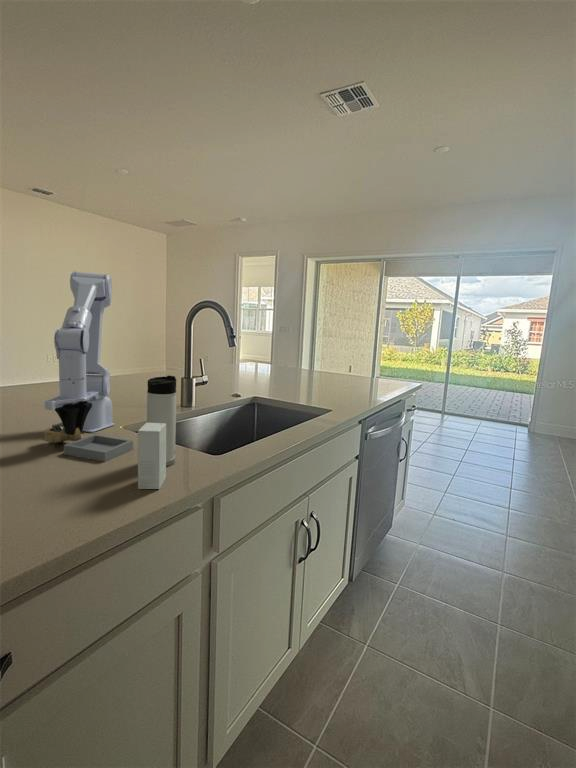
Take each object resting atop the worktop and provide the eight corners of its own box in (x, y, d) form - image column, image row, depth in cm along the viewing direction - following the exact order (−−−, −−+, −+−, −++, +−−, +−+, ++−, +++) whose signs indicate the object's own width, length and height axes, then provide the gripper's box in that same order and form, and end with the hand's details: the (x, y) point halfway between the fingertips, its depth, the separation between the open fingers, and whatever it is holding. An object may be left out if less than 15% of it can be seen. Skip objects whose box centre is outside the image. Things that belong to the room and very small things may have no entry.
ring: (60, 434, 102) (59, 423, 102) (88, 436, 100) (87, 425, 100) (39, 441, 96) (37, 429, 96) (67, 443, 94) (66, 431, 93)
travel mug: (181, 460, 93) (183, 377, 90) (161, 469, 87) (163, 380, 84) (161, 455, 96) (162, 374, 92) (140, 463, 90) (141, 376, 86)
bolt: (61, 442, 100) (61, 422, 100) (67, 443, 100) (67, 422, 99) (51, 445, 97) (50, 424, 96) (57, 446, 97) (56, 425, 96)
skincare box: (145, 477, 82) (145, 422, 80) (166, 478, 83) (167, 422, 81) (136, 490, 76) (137, 430, 74) (159, 490, 77) (160, 431, 75)
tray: (95, 442, 102) (95, 434, 101) (133, 448, 99) (133, 440, 99) (64, 454, 92) (63, 445, 92) (105, 461, 89) (104, 452, 89)
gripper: (62, 384, 87) (63, 443, 89) (108, 376, 101) (108, 427, 103) (36, 380, 89) (38, 438, 91) (85, 373, 102) (86, 424, 105)
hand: (74, 432), depth 97 cm, fingers closed on ring, 2 cm apart
